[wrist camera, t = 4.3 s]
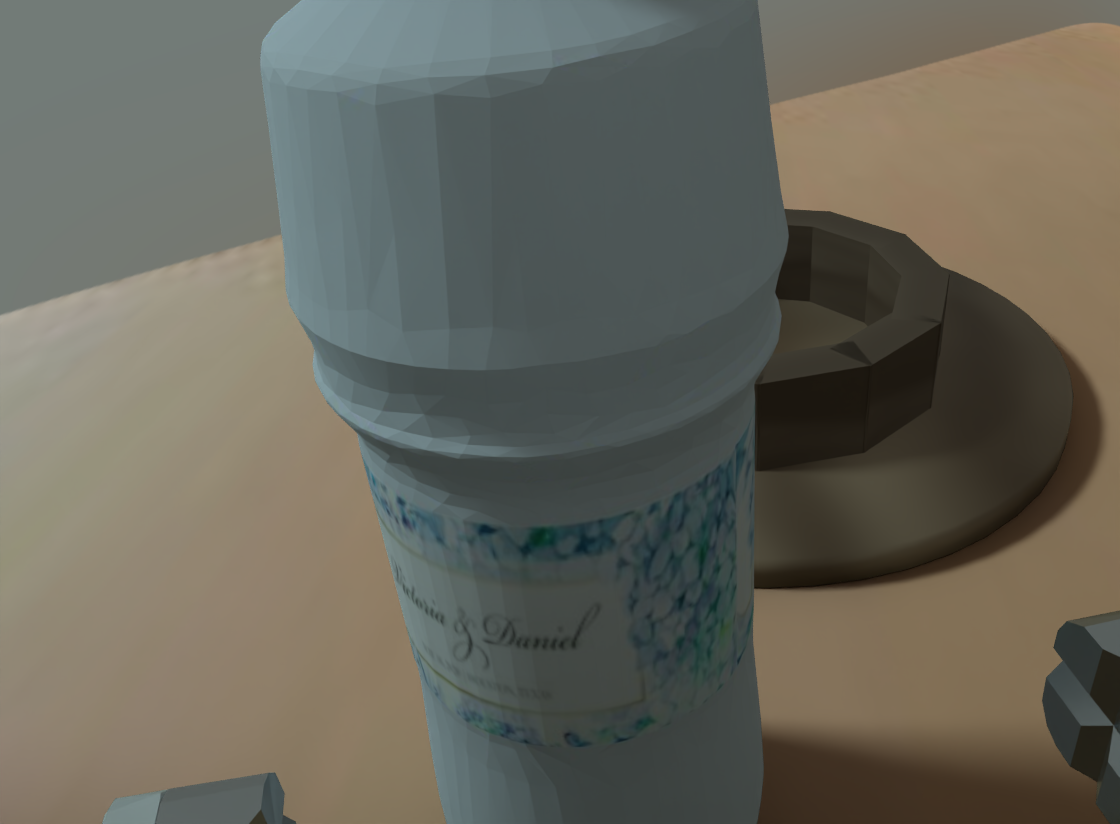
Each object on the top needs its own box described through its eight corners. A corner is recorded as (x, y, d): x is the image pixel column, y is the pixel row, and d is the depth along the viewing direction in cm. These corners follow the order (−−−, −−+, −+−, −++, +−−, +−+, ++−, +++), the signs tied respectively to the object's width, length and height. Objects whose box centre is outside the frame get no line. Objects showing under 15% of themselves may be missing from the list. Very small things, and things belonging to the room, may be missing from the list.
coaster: (489, 647, 26) (466, 528, 24) (447, 302, 43) (431, 214, 40) (1218, 514, 27) (1260, 390, 25) (902, 230, 44) (910, 141, 42)
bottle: (384, 896, 21) (-29, -291, 10) (562, 672, 25) (419, -312, 14) (677, 1081, 17) (560, -420, 6) (822, 785, 22) (901, -393, 11)
